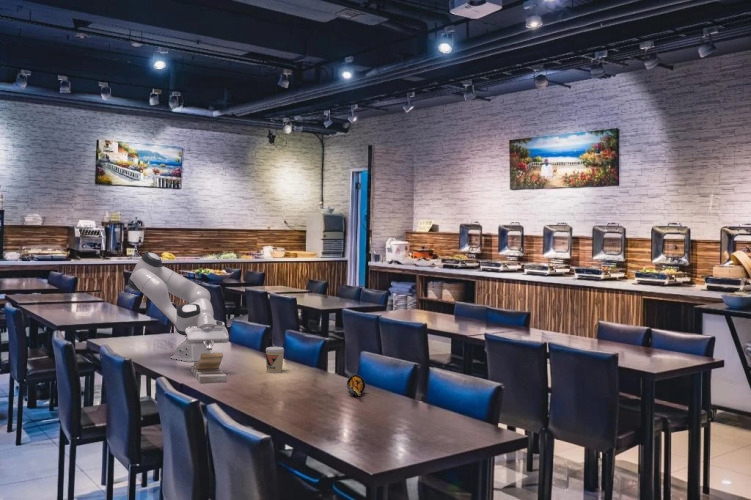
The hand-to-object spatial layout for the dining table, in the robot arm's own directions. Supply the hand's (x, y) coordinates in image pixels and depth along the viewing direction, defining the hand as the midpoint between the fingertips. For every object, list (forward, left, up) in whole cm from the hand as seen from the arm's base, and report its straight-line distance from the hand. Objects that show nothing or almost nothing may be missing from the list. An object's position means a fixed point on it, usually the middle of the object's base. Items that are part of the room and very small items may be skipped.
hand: (209, 349), depth 331 cm
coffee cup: (+21, +28, -14) cm, 37 cm away
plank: (+2, -2, -6) cm, 7 cm away
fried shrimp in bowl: (+77, 0, -14) cm, 79 cm away
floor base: (-1, +2, -13) cm, 14 cm away
